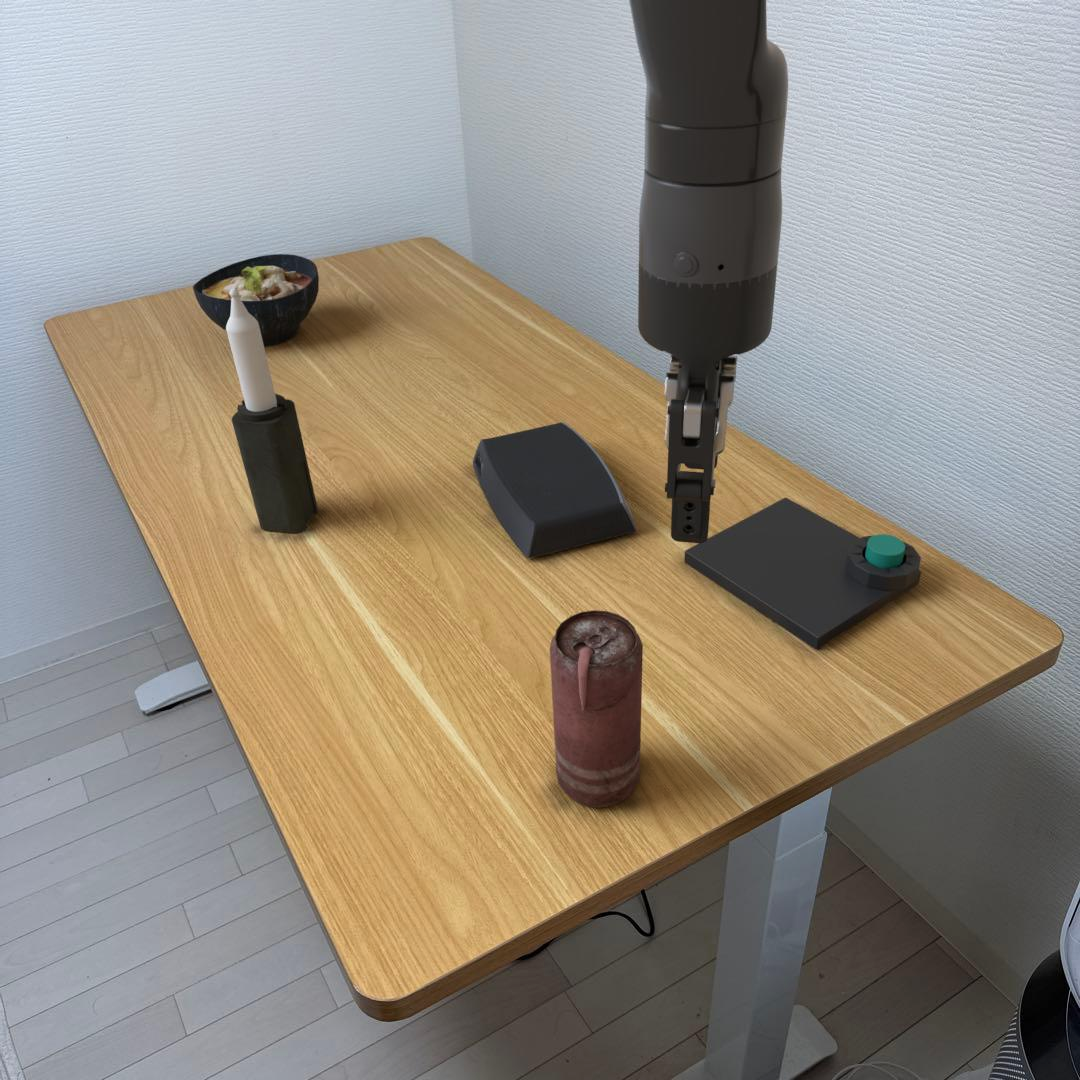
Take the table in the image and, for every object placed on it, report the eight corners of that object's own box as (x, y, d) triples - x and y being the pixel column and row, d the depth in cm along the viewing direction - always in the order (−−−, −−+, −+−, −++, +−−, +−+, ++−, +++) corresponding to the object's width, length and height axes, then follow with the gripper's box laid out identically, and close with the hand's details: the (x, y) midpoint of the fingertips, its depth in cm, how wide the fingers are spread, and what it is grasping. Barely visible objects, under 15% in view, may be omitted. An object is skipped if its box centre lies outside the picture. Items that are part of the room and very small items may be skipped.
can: (550, 809, 69) (541, 667, 61) (563, 742, 74) (556, 602, 66) (635, 818, 68) (638, 674, 60) (642, 750, 73) (646, 609, 65)
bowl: (183, 345, 138) (164, 277, 132) (272, 303, 149) (258, 240, 143) (264, 371, 130) (247, 300, 124) (352, 325, 141) (341, 258, 135)
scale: (928, 583, 87) (934, 557, 85) (821, 654, 80) (826, 626, 79) (787, 506, 98) (791, 481, 96) (683, 562, 91) (685, 536, 90)
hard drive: (576, 443, 110) (575, 411, 108) (645, 534, 95) (645, 500, 93) (466, 467, 107) (463, 435, 105) (520, 565, 92) (517, 530, 90)
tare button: (909, 559, 86) (913, 545, 85) (887, 573, 84) (890, 559, 84) (880, 543, 88) (882, 529, 87) (857, 557, 87) (860, 543, 86)
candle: (277, 503, 103) (220, 277, 88) (321, 506, 102) (271, 279, 88) (256, 530, 99) (193, 299, 84) (302, 534, 98) (246, 300, 84)
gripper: (776, 306, 46) (750, 573, 56) (780, 213, 57) (758, 448, 67) (620, 301, 48) (621, 562, 57) (654, 211, 59) (650, 442, 68)
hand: (695, 500), depth 62 cm, fingers open, 8 cm apart
